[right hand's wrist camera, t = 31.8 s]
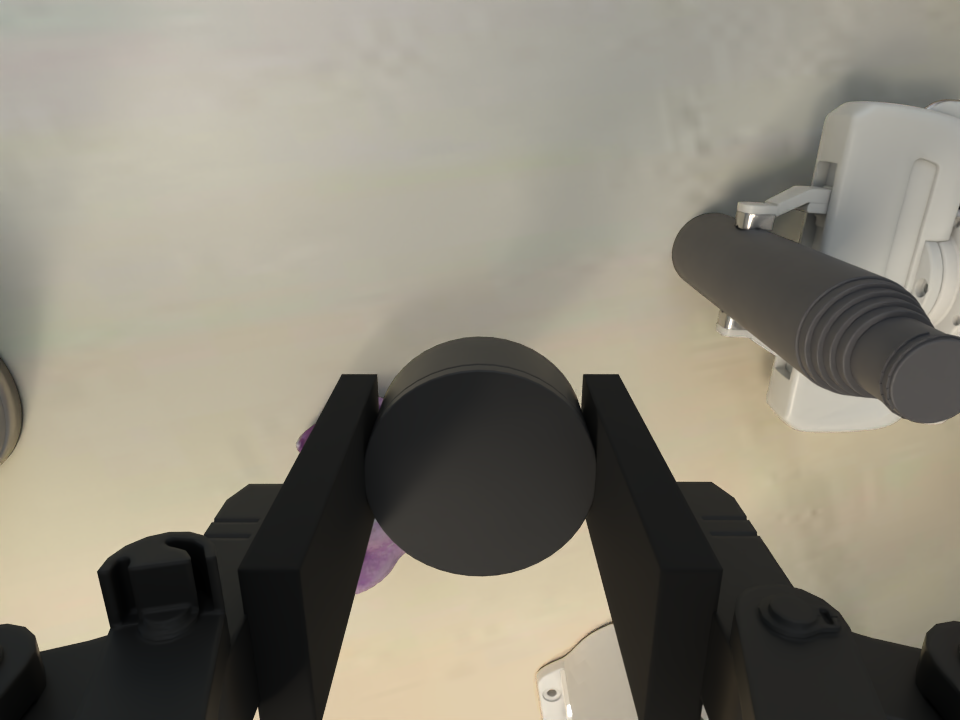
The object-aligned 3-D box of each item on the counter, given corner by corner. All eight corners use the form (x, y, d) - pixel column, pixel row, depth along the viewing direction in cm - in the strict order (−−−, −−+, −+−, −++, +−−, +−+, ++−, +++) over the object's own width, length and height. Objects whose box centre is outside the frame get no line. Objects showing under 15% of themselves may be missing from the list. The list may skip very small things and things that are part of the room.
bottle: (728, 197, 46) (988, 282, 22) (759, 262, 48) (1033, 404, 24) (658, 238, 47) (839, 360, 23) (691, 300, 49) (891, 473, 25)
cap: (341, 384, 14) (320, 425, 12) (537, 302, 13) (546, 332, 12) (431, 546, 16) (424, 605, 14) (611, 479, 15) (630, 531, 13)
